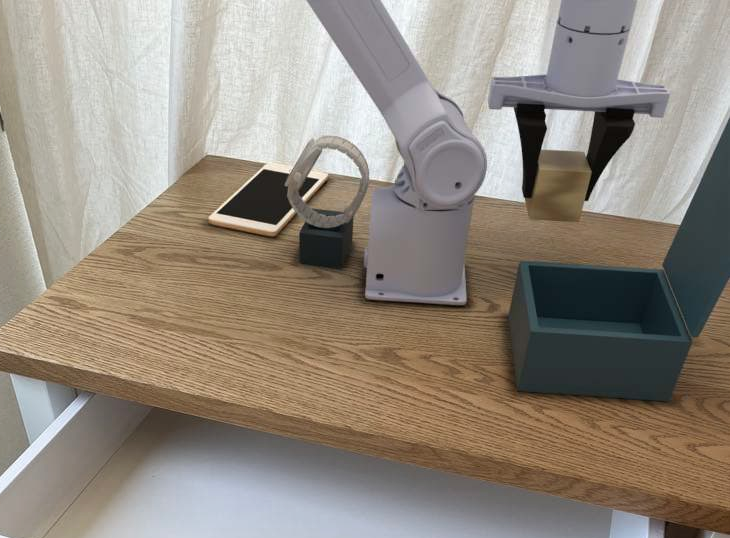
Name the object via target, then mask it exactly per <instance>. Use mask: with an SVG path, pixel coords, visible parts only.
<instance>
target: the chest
mask: <svg viewBox="0 0 730 538" xmlns="http://www.w3.org/2000/svg"><path fill="white" fill-rule="evenodd" d="M517 266H518V267H517V272H516V277H515V281H514V287H513V291H512V297H511V301H510V306H509V310H508V316H507V321H508V329H509V337H510V345H511V353H512V362H513V369H514V378H515V385H516V392H525V393H526V392H527V393H539V394H540V393H542V394H553V395H554V394H555V395H569V396H583V397H597V398H610V399H612V398H613V399H614V398H615V399H625V400H626V399H627V400H640V401H641V400H642V401H657V402H670V399H671V397H672V395H673V392H674V390H675V387H676V385H677V382H678V379H679V377H680V375H681V372H682V370H683V368H684V364H685V362H686V359H687V357H688V354H689V352H690V349H691V347H692V345H693V340H692V339H693V338H692V337H691V336H690V333H689V331H688V328H687V326H686V323H685V321H684V318H683V316H682V313H681V311H680V308H679V306H678V303H677V301H676V298H675V296H674V293H673V291H672V288H671V286H670V283H669V281H668V278H667V276H666V273H665V271H664V268H663V269H662V268H648V267H647V268H645V267H631V266H630V267H629V266H616V265H615V266H614V265H599V264H597V265H596V264H585V263H584V264H581V263H567V262H566V263H565V262H550V261H549V262H548V261H536V260H535V261H533V260H519V262H518V265H517Z"/></svg>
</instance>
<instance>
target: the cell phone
mask: <svg viewBox="0 0 730 538" xmlns="http://www.w3.org/2000/svg"><path fill="white" fill-rule="evenodd" d="M293 167H294V166H290V165H286V164H285V165H284V164H279V163H274V162H267V163H266V164H264V165H263V166H262V167H261V168H260V169H259V170H258V171H257V172H255V174H253V175H251V177H250V178H249V179H248V180H247V181H246V182H245V183H244V184H243V185H241V187H239V188H238V189H237V190H236V191H235V192H234V193H232V195H231V196H229V197H228V198H227V199H226V200H225V201H224V202H223V203H222V204H221V205H220V206H219V207H218V208H217V209H215V210H214V211H213V212H212V213H211V214H210V215H209V216H208V217H207V219H208V224H210V225H213V226H218V227H221V228H228V229H232V230H238V231H243V232H247V233H252V234H257V235H261V236H262V235H263V236H267V237H275V236H277V235H278V234H279V233H280V232H281V230H282V229H283V228H284V227H286V225H287V224H288V223H289V222H290V221H291V219H293V217H294V216H296V215H297V213H296V212H295V211H294V209H293V208H292V205H291V204H290V202H289V199H288V197H287V194H288V186H287V187H286V186H285V182H286V180H287V178H288V176H289V174H290V173H291V171H292V169H293ZM328 180H329V173H327V172H323V171H318V170H312V169H311V171H310V173H309V174H308V176H307V178H306V179H305V181H304V183H303V184H302V186H301V188H300V189H299V190H298V192H299V195H300V196H301V198H302V199H303V201H304V203H306V204H307V202H308V201H310V199H311V198H312V197H313V196H314V195H315V193H316V192H317V191H318V190H319V189H320V188H321V187H322V186H323V185H324V184H325V183H326V181H328Z"/></svg>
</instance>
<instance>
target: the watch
mask: <svg viewBox="0 0 730 538" xmlns="http://www.w3.org/2000/svg"><path fill="white" fill-rule="evenodd" d="M324 149H325V150H326V149H328V150H334V151H337V152H339V153H342V154H344V155H346V156H347V157H348V158H349V159H350V160H352V162H353V163H354V164H355V166H356V167H357V168H358V172H359V174H360V177H361V179H360V181H359V186H358V190H357V193H356V195H355V196H354V198H353V200H352V201H351V203H350V204H348V206H346V207H345V208H344V210H343V211H338V210H328V209H321V208H313V207H312V208H311V207H310V206H309V205H308V204H307V202H306V203H304V201H303V199H302V198H301V196H300V195H299V192H298V190H299V189H300V188H301V186H302V184H303V183H304V181H305V179H306V178H307V176H308V174H309V173H310V171H311V170H312V169H313V168H314V166H315V165H316V163H317V161H318V159H319V158H320V156H321V154H322V152H323V150H324ZM292 167H293V169H292V171H291V173H290V174H289V176H288V178H287V180H286V182H285V186H286V187H287V186H288V194H287V197H288V199H289V202H290V204H291V205H292V208H293V209H294V211H295V212H296V214H297V216H299V218H300V219H301V220H303V221H304V223H303V225H302V227H301V229H300V231H299V233H298V238H299V239H298V244H299V245H298V247H299V248H298V250H299V251H298V253H299V254H298V255H299V256H298V263H299V264H305V265H306V264H307V265H314V266H322V267H330V268H336V269H342V268H343V266H344V264H345V261H346V259H347V257H348V254H349V253H350V249H351V247H352V245H353V239H354V238H353V237H354V217H355V215H356V213H357V212H358V211H359V209H360V207H361V206H362V203H363V200H364V198H365V196H366V194H367V192H368V189H369V186H370V184H371V183H370V168H369V164H368V161H367V159H366V158H365V156H364V154H363V153H362V151H361V150H360V149H359V147H358V146H357V145H356V144H354V143H353V142H351V141H350V140H348V139H346V138H344V137H341V136H338V135H322V136H321V137H319V138H317V139H314V138H313V137H312V138H311V139H309V141H308V142H307V143H306V145H305V147H304V149H303V150H302V151H301V154H300V155H299V157H298V159H297V160H296V162H295V164H294V166H292Z"/></svg>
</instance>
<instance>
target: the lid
mask: <svg viewBox="0 0 730 538" xmlns="http://www.w3.org/2000/svg"><path fill="white" fill-rule="evenodd" d="M661 266H662V268H663V270H664V272H665V275H666V277H667V280H668V282H669V285H670V287H671V290H672V292H673V295H674V297H675V300H676V302H677V305H678V307H679V310H680V312H681V315H682V317H683V320H684V322H685V325H686V327H687V330H688V332H689V335H690V337H691V338H695V339H696V338H697V339H698V338H699V337H700V335H701V333H702V331H703V329H704V328H705V326H706V324H707V322H708V321H709V318H710V316H711V315H712V312H713V310H715V309H714V308H715V306H716V305H717V303H718V301H719V299H720V297H721V295H722V293H723V292H724V290H725V288H726V287H727V284H728V282H729V280H730V116H729V117H728V120H727V121H726V124H725V126H724V128H723V131H722V133H721V135H720V137H719V139H718V141H717V143H716V146H715V148H714V150H713V152H712V154H711V157H710V159H709V161H708V163H707V165H706V168H705V169H704V172H703V174H702V176H701V178H700V181H699V182H698V185H697V187H696V190H695V192H694V194H693V196H692V198H691V201H690V202H689V205H688V207H687V209H686V211H685V213H684V216H683V218H682V220H681V222H680V224H679V226H678V229H677V231H676V233H675V235H674V237H673V239H672V242H671V244H670V246H669V248H668V251H667V253H666V255H665V257H664V260H663V262H662V264H661Z"/></svg>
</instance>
